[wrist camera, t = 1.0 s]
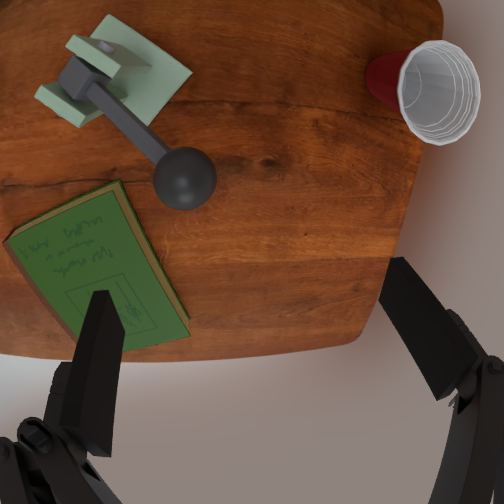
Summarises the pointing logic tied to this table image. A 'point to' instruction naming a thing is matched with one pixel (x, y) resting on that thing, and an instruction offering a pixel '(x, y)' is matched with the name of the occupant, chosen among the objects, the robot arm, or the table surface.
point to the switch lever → (145, 140)
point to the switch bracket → (120, 73)
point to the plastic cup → (428, 89)
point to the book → (98, 267)
